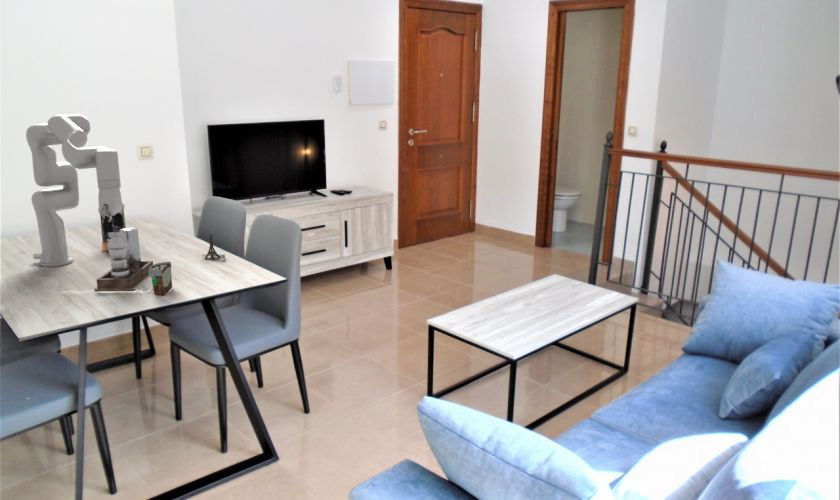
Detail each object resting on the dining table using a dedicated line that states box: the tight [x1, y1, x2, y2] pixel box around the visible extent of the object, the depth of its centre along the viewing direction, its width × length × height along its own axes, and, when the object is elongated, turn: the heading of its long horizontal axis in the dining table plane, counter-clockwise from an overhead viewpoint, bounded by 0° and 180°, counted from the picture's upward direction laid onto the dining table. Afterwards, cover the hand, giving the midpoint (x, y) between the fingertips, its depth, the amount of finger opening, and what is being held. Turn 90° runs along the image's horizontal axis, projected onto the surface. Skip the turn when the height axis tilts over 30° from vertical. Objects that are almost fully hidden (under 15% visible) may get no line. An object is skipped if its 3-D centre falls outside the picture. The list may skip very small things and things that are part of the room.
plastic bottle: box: [107, 231, 130, 279], centre depth 241 cm, size 6×7×20 cm
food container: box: [149, 261, 173, 297], centre depth 235 cm, size 12×6×10 cm, turn 5°
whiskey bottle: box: [98, 203, 127, 252], centre depth 292 cm, size 10×10×32 cm
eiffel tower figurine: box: [201, 231, 227, 263], centre depth 279 cm, size 15×10×13 cm
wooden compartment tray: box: [93, 260, 154, 292], centre depth 248 cm, size 14×26×4 cm, turn 4°
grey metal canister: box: [119, 227, 142, 269], centre depth 252 cm, size 7×7×18 cm
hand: (113, 229), depth 237 cm, fingers open, 9 cm apart
